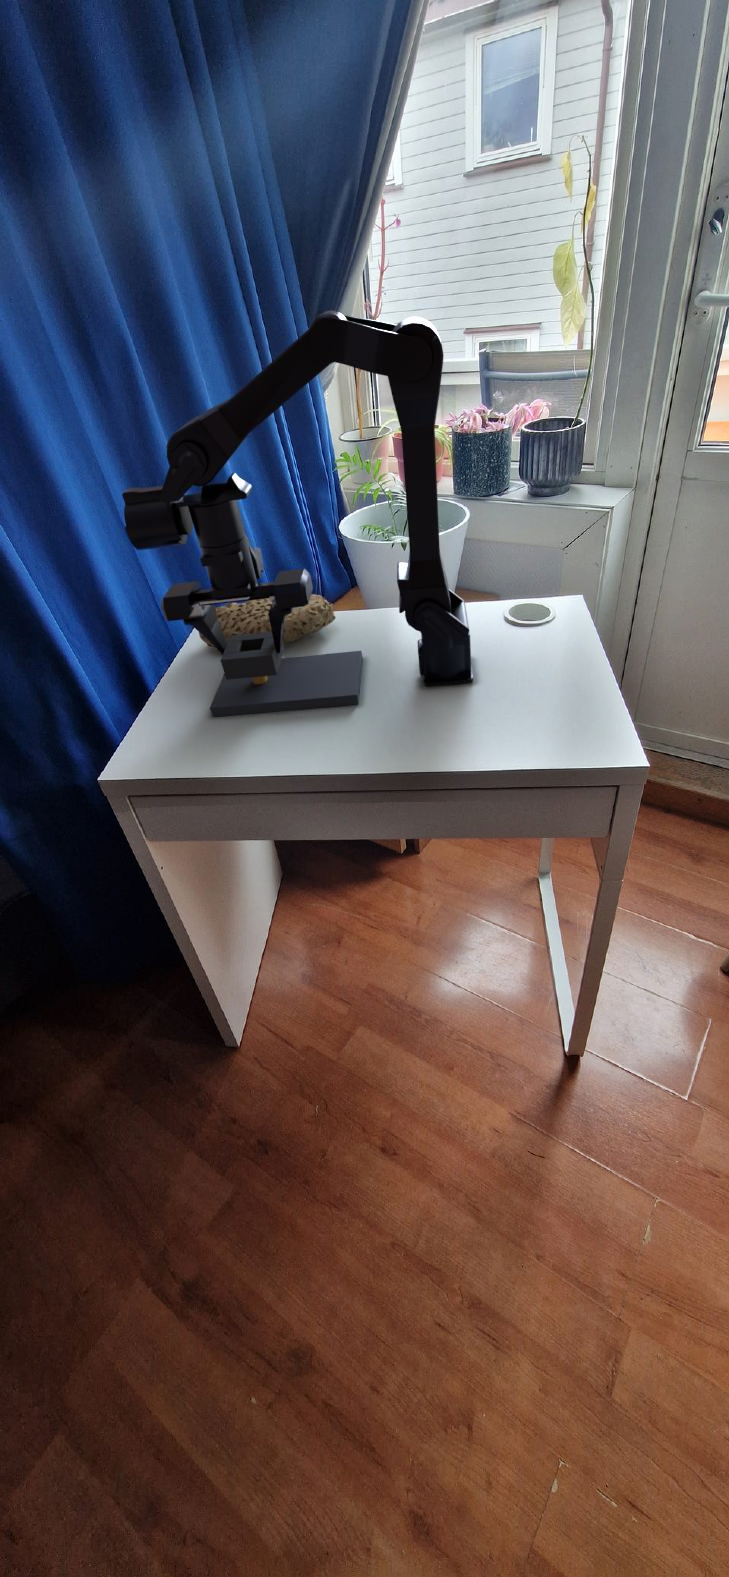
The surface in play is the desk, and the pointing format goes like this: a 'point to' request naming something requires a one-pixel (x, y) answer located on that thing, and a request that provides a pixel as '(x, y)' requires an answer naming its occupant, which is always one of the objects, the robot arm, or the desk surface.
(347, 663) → the base pad
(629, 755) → the desk surface
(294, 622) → the sponge
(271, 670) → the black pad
